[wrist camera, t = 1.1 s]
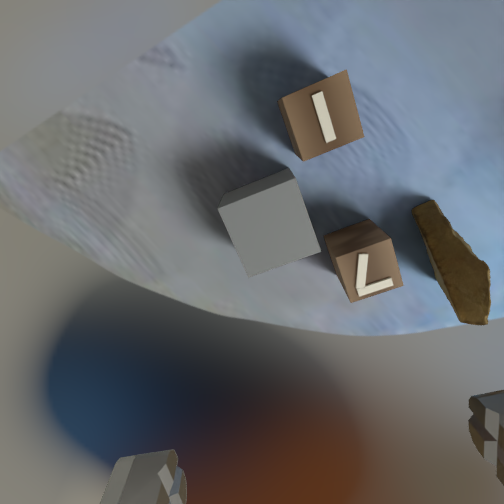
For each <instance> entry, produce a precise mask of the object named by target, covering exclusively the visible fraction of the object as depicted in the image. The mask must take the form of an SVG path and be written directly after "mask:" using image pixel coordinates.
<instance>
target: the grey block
mask: <svg viewBox="0 0 504 504" xmlns="http://www.w3.org/2000/svg"><path fill="white" fill-rule="evenodd" d="M218 211H219V213H220V216H221V218H222V220H223V222H224V224H225V227H226V229H227V231H228V233H229V235H230V238H231V240H232V242H233V244H234V247H235V249H236V251H237V253H238V255H239V258H240V260H241V262H242V264H243V267H244V269H245V271H246V273H247V275H248V278H249V277H252V276H255V275H257V274H260V273H263V272H266V271H269V270H271V269H274V268H277V267H280V266H283V265H285V264H288V263H291V262H294V261H297V260H300V259H302V258H305V257H308V256H311V255H314V254H316V253H319V252H321V249H320V246H319V244H318V241H317V238H316V235H315V232H314V229H313V226H312V224H311V221H310V218H309V215H308V212H307V209H306V206H305V204H304V201H303V198H302V195H301V192H300V189H299V186H298V183H297V181H296V178H295V176H294V175H293V173H292V172H291V170H290V169H289V168H287V169H285V170H282V171H280V172H277V173H275V174H272V175H270V176H267V177H265V178H262V179H260V180H257V181H255V182H252V183H250V184H247V185H245V186H242V187H240V188H237V189H235V190H232V191H230V192H228V193H225V194H224V195H223V197H222V199H221V202H220V204H219V206H218Z"/></svg>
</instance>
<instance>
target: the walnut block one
mask: <svg viewBox="0 0 504 504" xmlns="http://www.w3.org/2000/svg"><path fill="white" fill-rule="evenodd" d="M277 102H278V105H279V108H280V111H281V114H282V117H283V120H284V123H285V126H286V129H287V132H288V134H289V137H290V140H291V143H292V146H293V149H294V152H295V154H296V155H297V156H298V157H299V158H300V159H301V160H302V161H306V160H308V159H311V158H313V157H316V156H318V155H321V154H323V153H326V152H328V151H331V150H333V149H336V148H338V147H341V146H343V145H345V144H348V143H350V142H353V141H355V140H358V139H360V138H363V137H364V134H363V130H362V126H361V122H360V118H359V115H358V111H357V107H356V103H355V100H354V96H353V92H352V88H351V84H350V81H349V77H348V73H347V69H346V70H344V71H342V72H340V73H337V74H335V75H333V76H330V77H328V78H326V79H324V80H321V81H319V82H317V83H315V84H312V85H310V86H308V87H305V88H303V89H301V90H299V91H296V92H294V93H292V94H290V95H287V96H285V97H283V98H281V99H280V100H278V101H277Z"/></svg>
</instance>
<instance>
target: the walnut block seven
mask: <svg viewBox="0 0 504 504" xmlns="http://www.w3.org/2000/svg"><path fill="white" fill-rule="evenodd" d="M324 239H325V242H326V245H327V248H328V251H329V254H330V257H331V260H332V263H333V266H334V269H335V271H336V274H337V277H338V279H339V281H340V283H341V284H342V286H343V288H344V290H345V292H346V294H347V296H348V298H349V300H350V302H351V303H352V302H355V301H358V300H361V299H364V298H368V297H371V296H374V295H377V294H380V293H383V292H386V291H389V290H392V289H395V288H398V287H401V286H403V282H402V278H401V274H400V270H399V267H398V263H397V259H396V255H395V251H394V248H393V244H392V240H391V238H390V237H389V236H388V235H387V234H386V233H385V232H384V231H382V230H381V229H380V228H379V227H378V226H377V225H376V224H375V223H374V222H372V221H371V220H370V219H368V220H365V221H362V222H359V223H357V224H354V225H351V226H348V227H346V228H343V229H340V230H337V231H335V232H332V233H329V234H327V235H324Z"/></svg>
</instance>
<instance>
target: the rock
mask: <svg viewBox="0 0 504 504" xmlns="http://www.w3.org/2000/svg"><path fill="white" fill-rule="evenodd" d="M412 215H413V217H414V219H415V221H416V224H417V225H418V228H419V230H420V233H421V236H422V238H423V240H424V243H425V245H426V248H427V253H428V256H429V259H430V263H431V264H432V267H433V269H434V274H435V278H436V280H437V281H438V283H439V285H440V287H441V289H442V290H443V292H444V293H445V295H446V297H447V299H448V300H449V301H450V303H451V305H452V307H453V309H454V311H455V313H456V315H457V317H458V319H459V321H460V322H462V323H467V324H473V325H486V324H488V319H487V318H488V315H489V312H490V305H491V300H490V285H491V284H490V269H489V267H488V265H487V264H486V263H485V262H484V261H483V260H482V261H481V260H479V259H478V257H477V256H476V255H475V254H474V253H473V252H472V249H471V247H470V246H469V244H467V243H466V242H465V241H464V239H463V238H462V237H461V236H460V235H459V234H458V233H457V232H455V231H454V230H453V229H452V227H451V224H450V222H449V221H448V219H447V218H446V217H445V216H444V215H443V213H442V212H441V209H440V208H439V206H438V204H437V203H436V202H435V200H430V201H428V202H426V203H424V204H421V205H418V206H416V207H415V208H413V209H412Z"/></svg>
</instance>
